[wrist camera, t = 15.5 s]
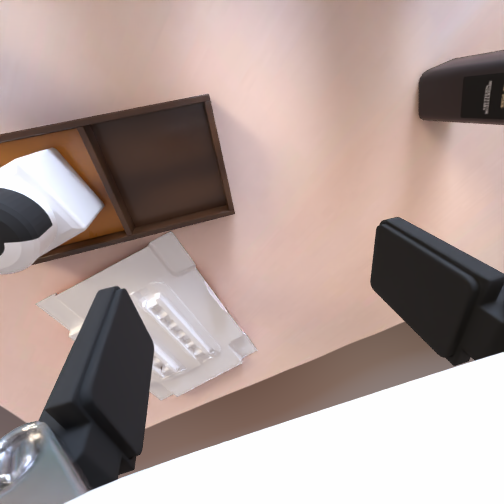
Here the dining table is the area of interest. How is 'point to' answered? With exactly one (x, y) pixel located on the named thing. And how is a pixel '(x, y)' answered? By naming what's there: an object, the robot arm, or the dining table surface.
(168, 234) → the tray
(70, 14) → the dining table surface
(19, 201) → the medicine bottle
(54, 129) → the dark wooden divided tray
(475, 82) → the wine bottle
